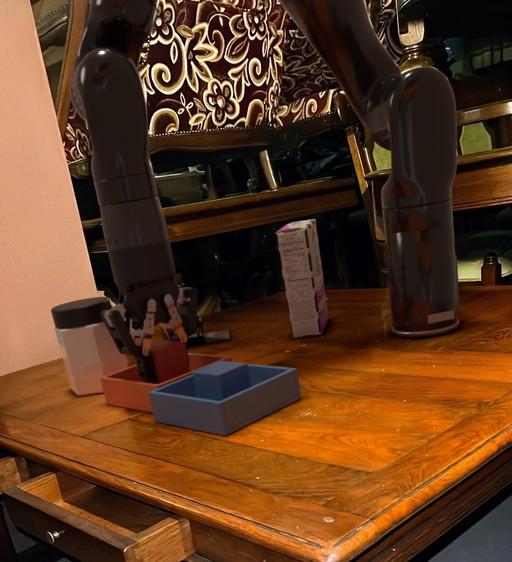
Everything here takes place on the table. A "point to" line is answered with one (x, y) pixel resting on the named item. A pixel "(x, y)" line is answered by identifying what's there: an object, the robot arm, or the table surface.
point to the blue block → (221, 380)
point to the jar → (86, 344)
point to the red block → (169, 359)
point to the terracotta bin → (134, 392)
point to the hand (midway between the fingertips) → (166, 376)
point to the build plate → (205, 336)
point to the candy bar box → (303, 278)
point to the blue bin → (226, 401)
